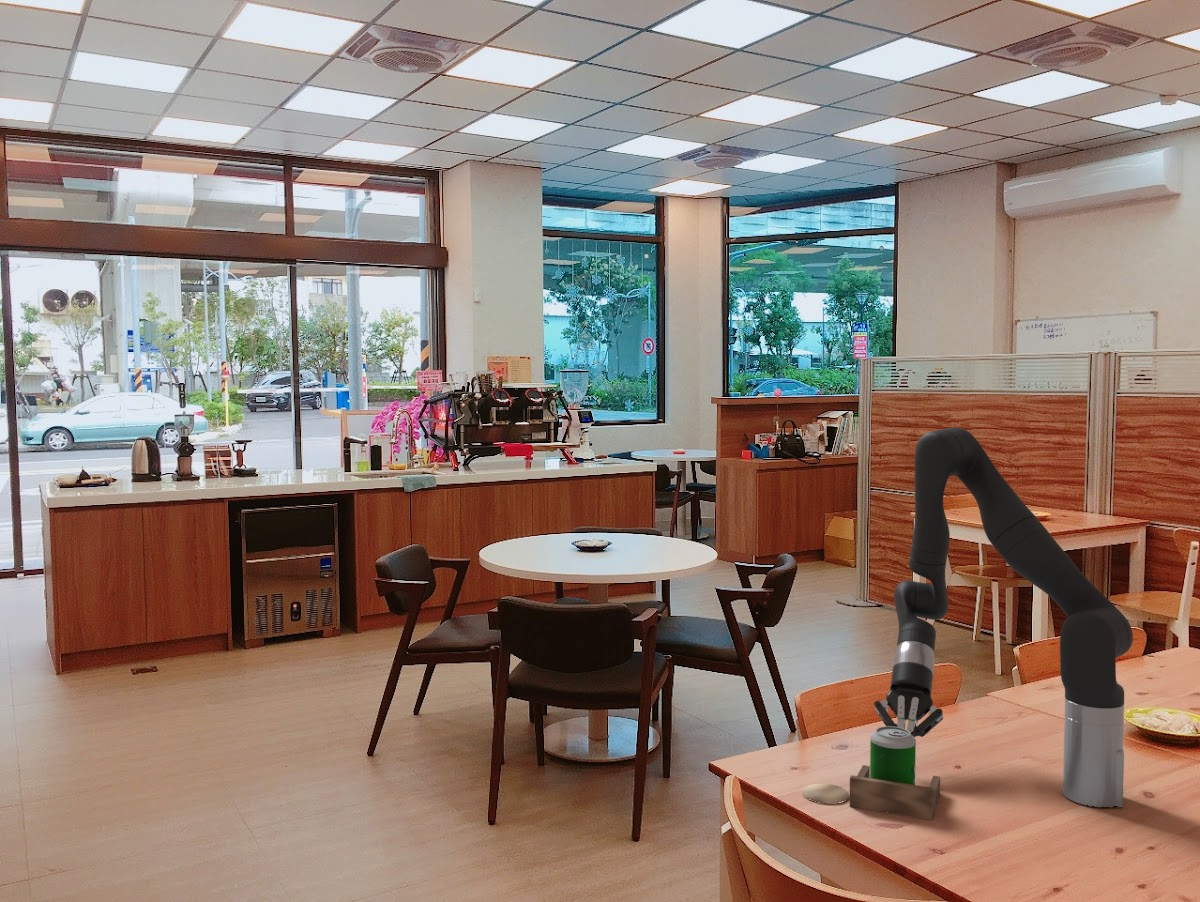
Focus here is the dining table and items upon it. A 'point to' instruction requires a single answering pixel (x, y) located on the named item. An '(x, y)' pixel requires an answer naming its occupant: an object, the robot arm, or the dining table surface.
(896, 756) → the soda can
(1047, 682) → the dining table surface
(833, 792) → the beige domed disc
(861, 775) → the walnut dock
